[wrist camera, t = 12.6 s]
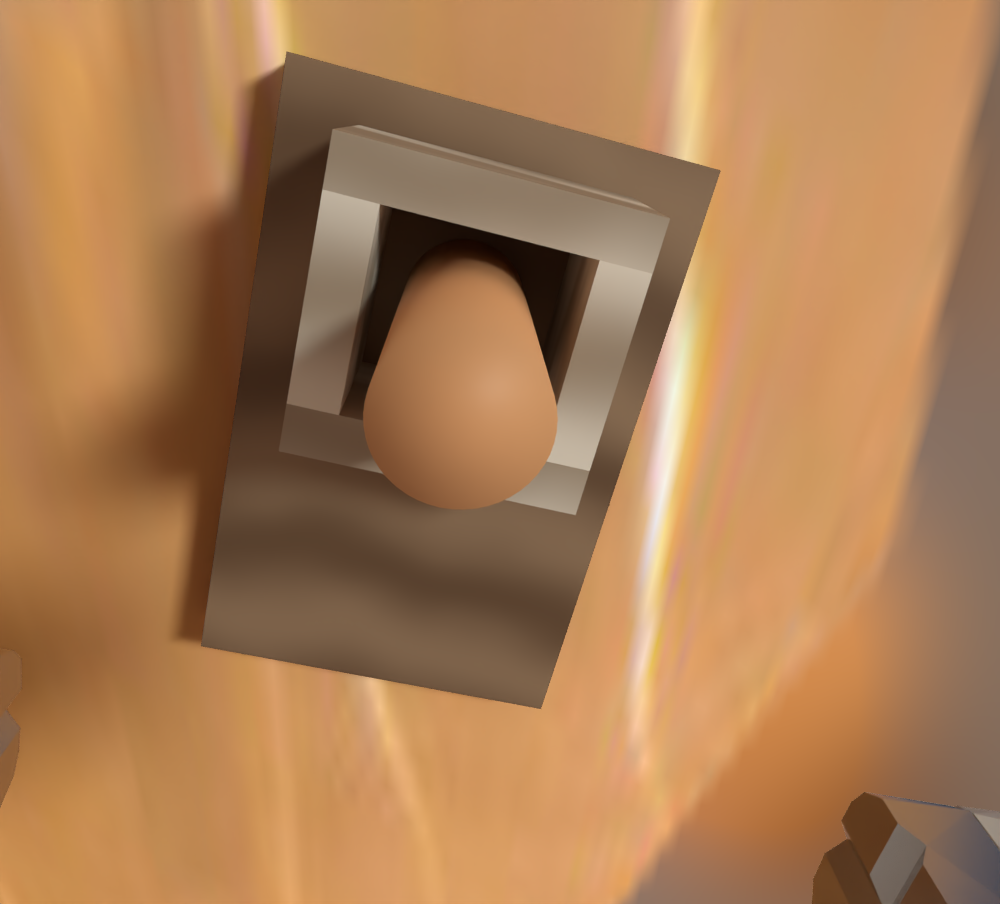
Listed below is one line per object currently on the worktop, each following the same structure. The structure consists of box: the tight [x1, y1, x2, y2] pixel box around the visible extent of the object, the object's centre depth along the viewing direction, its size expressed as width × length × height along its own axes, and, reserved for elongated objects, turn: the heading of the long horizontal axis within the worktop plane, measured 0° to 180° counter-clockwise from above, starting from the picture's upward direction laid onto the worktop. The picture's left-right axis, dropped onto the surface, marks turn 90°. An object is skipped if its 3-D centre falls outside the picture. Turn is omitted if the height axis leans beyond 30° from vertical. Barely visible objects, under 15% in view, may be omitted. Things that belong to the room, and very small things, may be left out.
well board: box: [201, 52, 720, 709], centre depth 29 cm, size 22×14×8 cm, turn 166°
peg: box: [363, 239, 558, 510], centre depth 23 cm, size 4×4×12 cm
